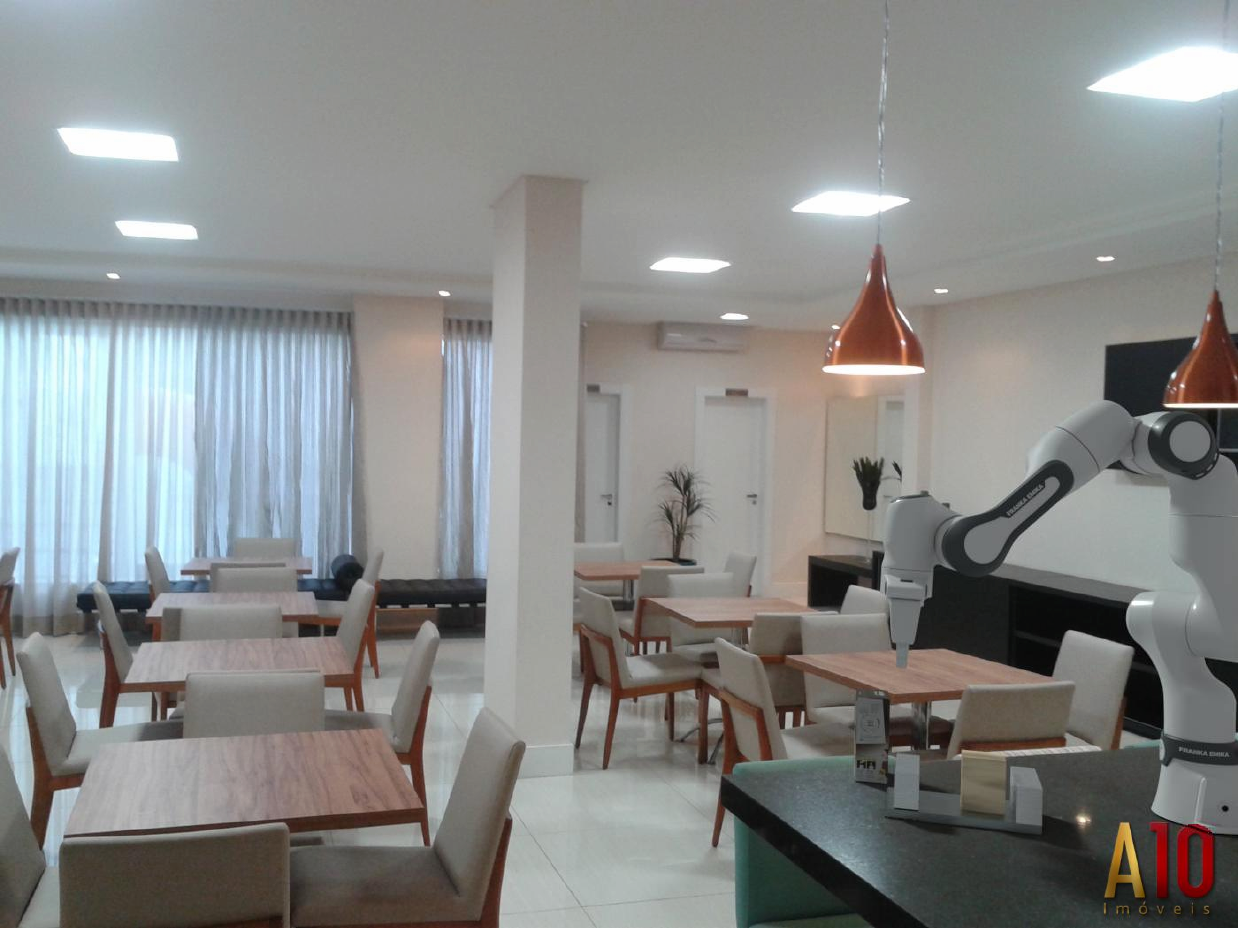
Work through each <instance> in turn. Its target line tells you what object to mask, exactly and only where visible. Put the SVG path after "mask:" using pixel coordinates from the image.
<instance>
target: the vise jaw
mask: <svg viewBox="0 0 1238 928" xmlns="http://www.w3.org/2000/svg"><path fill="white" fill-rule="evenodd" d="M920 756H921V755H919V754H918V755H917V754H910V753H909V754H908V753H897V752H896V758H895V765H894V766H895V767H894V768H895V769H894V786H893V788H894V807H895V808H904V809H913V810H918V804H919V790H920V760H921V759H920Z"/></svg>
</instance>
